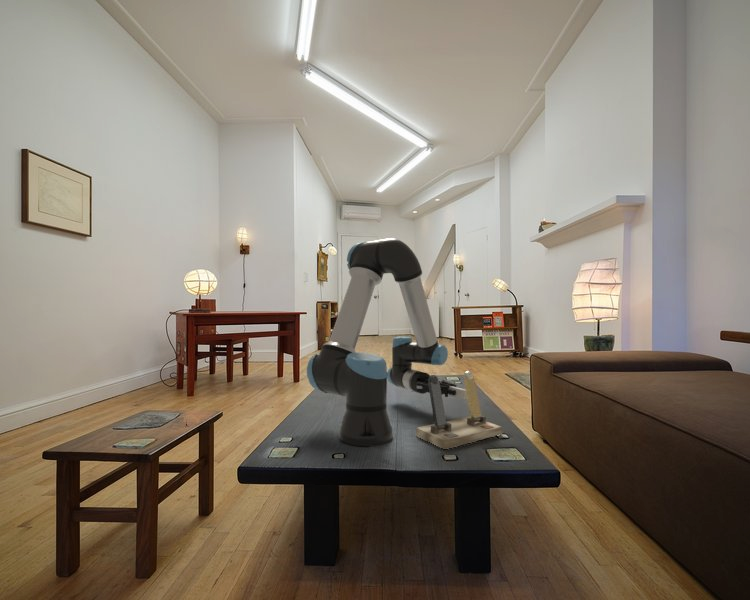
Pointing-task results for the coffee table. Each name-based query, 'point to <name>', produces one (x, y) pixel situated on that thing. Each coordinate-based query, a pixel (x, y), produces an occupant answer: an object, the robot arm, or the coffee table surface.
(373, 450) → the coffee table surface
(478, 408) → the lever brass
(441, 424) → the lever slate
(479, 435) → the console
